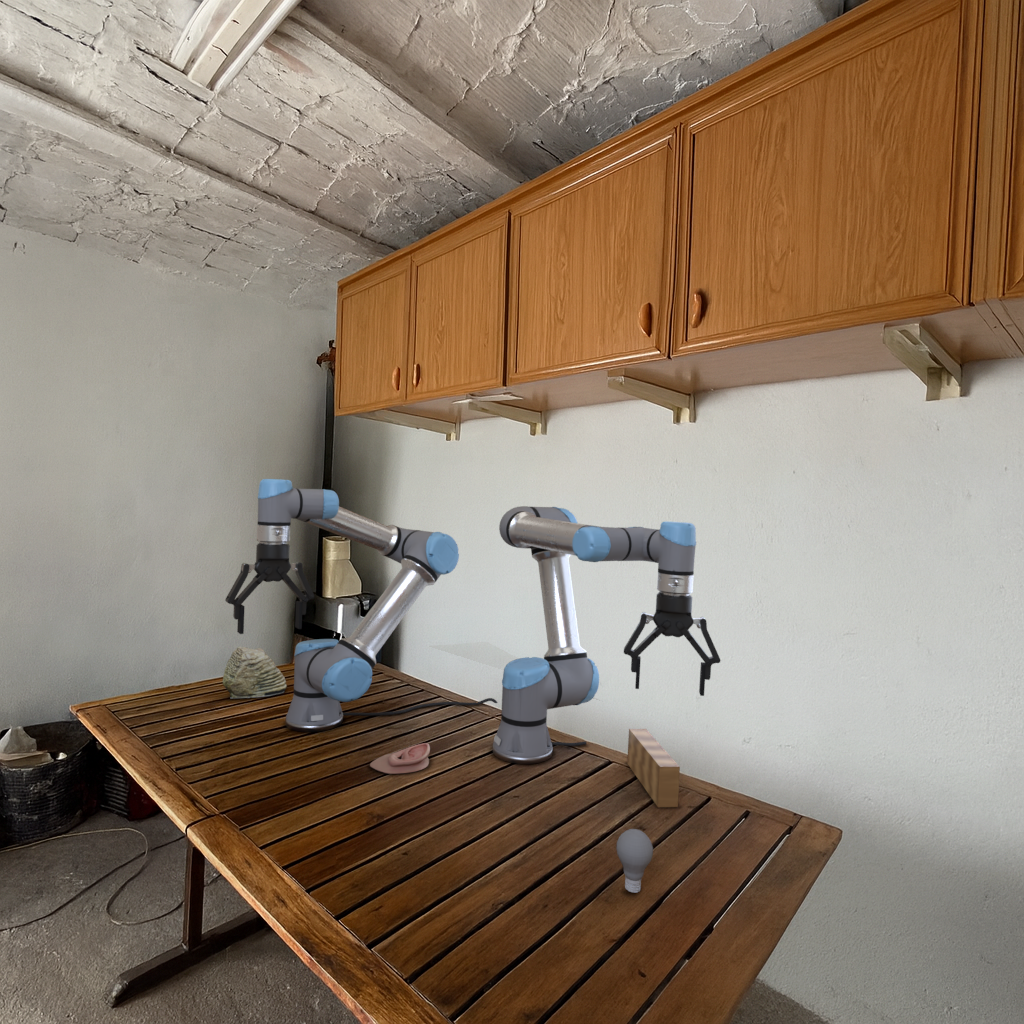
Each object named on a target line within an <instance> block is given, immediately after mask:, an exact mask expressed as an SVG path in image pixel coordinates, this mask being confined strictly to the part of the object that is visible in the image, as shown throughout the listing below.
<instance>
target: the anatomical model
mask: <svg viewBox="0 0 1024 1024" xmlns="http://www.w3.org/2000/svg"><path fill="white" fill-rule="evenodd" d="M430 751H431V745H430V744H429V743H427V742H424V743H423V742H422V743H419V744H415V745H412V746H408V747H406V748H403V749H401V750H397V751H395V752H392V753H387V754H384V755H382V756H380V757H377V758H376V759H374V760H373V761H371V762H370V763H369V767H370V768H372V769H373V770H375V771H378V772H380V773H384V774H389V775H390V774H391V775H392V774H395V775H396V774H409V773H414V772H418V771H421V770H424V769H426V768H427V767H429V764H430V759H429V755H430Z"/></svg>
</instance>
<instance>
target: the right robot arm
mask: <svg viewBox="0 0 1024 1024" xmlns="http://www.w3.org/2000/svg"><path fill="white" fill-rule="evenodd" d="M498 527H499V528H498V529H499V534H500V537H501V539H502V540H503V542H504V543H506V544H507V545H508V546H510V547H512V548H517V549H530V552H531V557H532V559H534V560H535V561H536V562H537V565H538V573H539V581H540V591H541V598H542V606H543V615H544V622H545V624H544V625H545V631H546V639H547V651H546V652H545V654H544V655H543V658H542V657H538V656H532V657H529V656H528V657H527V656H525V657H520V658H516V659H513V660H511V661H508V663H507V664H506V665H505V667H504V668H503V672H502V673H503V674H502V680H501V685H502V689H501V714H500V715H501V717H500V723H499V726H498V728H497V731H496V734H495V735H494V737H493V742H492V753H493V755H494V756H495V757H496V758H498V759H500V760H502V761H504V762H508V763H510V764H511V763H512V764H520V765H534V764H539V763H543V762H546V761H548V760H549V759H551V758H552V756H553V746H560V747H578V746H580V747H581V746H586V745H587V741H579V742H561V741H552V739H551V735H550V732H549V729H548V724H547V721H548V719H547V717H548V710H553V709H557V708H564V707H571V706H580V705H581V704H585V703H589V702H591V700H592V699H594V698H595V696H596V694H597V693H598V689H599V685H600V673H599V669H598V666H597V665H596V663H595V662H594V661H593V660H592V659H591V658H589V657H588V651H587V650H586V649H585V648H583V647H582V646H581V642H580V635H579V627H578V619H577V612H576V605H575V597H574V590H573V589H574V588H573V582H572V575H571V574H572V573H571V568H570V567H571V566H570V560H569V559H570V557H571V556H574V557H577V559H578V560H580V561H582V562H589V563H598V562H649V563H656V564H657V579H656V590H657V591H658V592H657V593H656V596H655V597H656V599H655V612H654V614H650V613H647V612H645V611H642V612H641V613H640V617H639V618H640V619H639V622H638V623H637V625H636V627H635V629H634V630H633V632H632V634H631V636H630V638H629V639H628V641H627V642H626V643H625V646H624V647H623V654H624V655H626V656H629V657H630V659H631V662H630V671H631V673H635V687H634V688H635V689H636V690H640V680H641V679H640V676H641V662H642V661H641V659H642V658H641V656H640V655H641V654H642V653H644V651H645V650H646V649H647V648H649V646H650V645H651V644H652V643H653V642H655V640H656V639H657V638H659V637H660V635H663V636H664V637H675V638H681V637H683V636H684V637H685V639H686V640H687V641H688V642H689V644H690V645H691V646H692V648H693V649H694V650H695V652H696V653H697V654H698V656H699V657H700V658H701V659H702V661H701V662H700V670H699V671H700V672H699V689H698V693H699V696H701V697H705V689H706V687H705V684H706V680H708V681H710V679H711V674H712V666H713V665H715V664H719V663H721V661H722V660H721V658H720V656H719V653H718V650H717V649H716V647H715V644H714V641H713V640H712V638H711V635H710V633H709V631H708V628H707V627H708V625H707V619H706V618H705V617H704V616H700V617H693V616H692V613H693V611H692V610H693V596H692V595H691V594H692V593H694V575H695V574H694V573H695V572H694V571H695V570H694V569H695V557H696V547H697V538H696V536H697V532H696V529H697V528H696V525H695V524H693V522H686V521H685V522H684V521H667V520H666V521H662V522H661V523H660V528H659V529H657V528H649V527H643V526H627V527H613V526H610V527H609V526H598V525H592V524H585V523H578V520H577V518H576V516H575V515H574V514H573V512H571V511H570V510H569V509H566V508H564V507H563V508H562V507H558V506H528V505H527V506H526V505H523V506H521V505H520V506H515V507H513V508H510V509H509V510H507V511H506V512H505V513H504V514H503V516H502V517H501V519H500V522H499V525H498ZM651 621H653V622H654V625H655V628H654V629H653V630H652V631H651V632H650V633H649V634H648V635H647V636H646V637H645V638H644V639H643V640H642V641H641V642H640V643H639V644H638V645H637V646H636V647H635V648H634V649H633V647H634V646H635V644H636V642H637V640H638V639H639V637H640V635H641V634H642V632H643V630H644V629H645V627H646V625H648V624H650V622H651ZM693 625H695V626H696V628H697V629H700V632H701V634H702V636H703V638H704V641H705V643H706V645H707V647H708V650H709V652H710V654H711V656H709V655H708V654H707V653H706V651H705V650H704V649H703V647H702V646H701V645H700V644H699V642H698V641H697V640H696V638H695V637H694V636H693V634H692V633H691V631H689V630H690V629H691V628H692V626H693Z"/></svg>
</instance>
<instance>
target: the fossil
mask: <svg viewBox="0 0 1024 1024" xmlns="http://www.w3.org/2000/svg"><path fill="white" fill-rule="evenodd" d="M222 676H223V677H222V685H223V687H224V688H225V690H226V691H228V693H229V698H230V699H250V698H264V697H271V696H275V695H281V694H284V693H285V691H286V689H287V687H288V686H287V680H286V678H285V676H284V674H283V673H282V672H281V669H279V668H278V667H277V665H276V663H275V662H274V660H273V659H272V658H271V657H270V656H269V655H268V654H267V653H266V652H265V650H264V649H263V648H260V647H258V648H251V647H247V646H246V647H245V646H238V647H237V648H236V649H235V650H233V651H232V653H231V656H230V657H229V659H228V660H227V663H226V666H225V668H224V671H223V675H222Z"/></svg>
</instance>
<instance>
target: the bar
mask: <svg viewBox="0 0 1024 1024" xmlns="http://www.w3.org/2000/svg"><path fill="white" fill-rule="evenodd" d="M627 739H628V741H627V758H626V759H627V760H626V764H627V766H628V767H629V768H630V770H631V771H632V773H633V774H634V775H635V776H636V778H637V780H638V782H640V784H641V785H642V787H643V788H644V789H645V791H646V792H647V794H648V796H649V797H650V798H651V800H652V802H653V803H654V804H655V805H656V807H657V808H678V807H679V794H680V793H679V792H680V773H681V772H680V771H681V766H680V765H679V764H678V762H676V761H675V759H674V758H673V757H672V756H671V755H670V754H669V752H668V751H666V749H665V748H664V747H663V746H662V745H661V743H659V741H658V740H657V739H656V738H655V737H654V736H653V735H652V733H650V731H649V730H647V728H628V738H627Z"/></svg>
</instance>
